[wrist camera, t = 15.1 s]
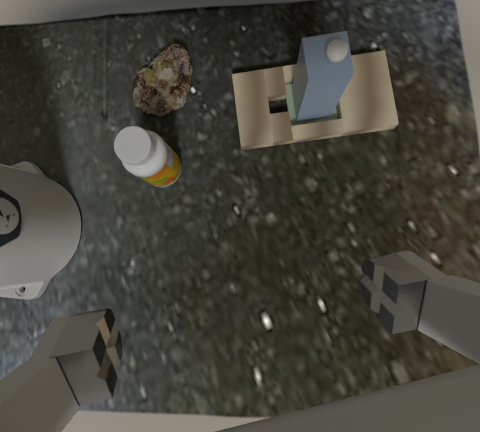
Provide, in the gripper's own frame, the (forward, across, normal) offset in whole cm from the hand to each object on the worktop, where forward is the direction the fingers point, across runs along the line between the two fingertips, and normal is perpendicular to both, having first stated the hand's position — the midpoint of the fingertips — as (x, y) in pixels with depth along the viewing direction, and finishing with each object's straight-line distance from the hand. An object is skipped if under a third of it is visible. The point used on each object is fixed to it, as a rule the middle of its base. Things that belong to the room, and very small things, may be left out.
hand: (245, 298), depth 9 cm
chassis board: (+32, -16, -3) cm, 36 cm away
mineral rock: (+39, +3, -7) cm, 40 cm away
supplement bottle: (+34, +5, +3) cm, 34 cm away
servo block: (+32, -16, -3) cm, 36 cm away
